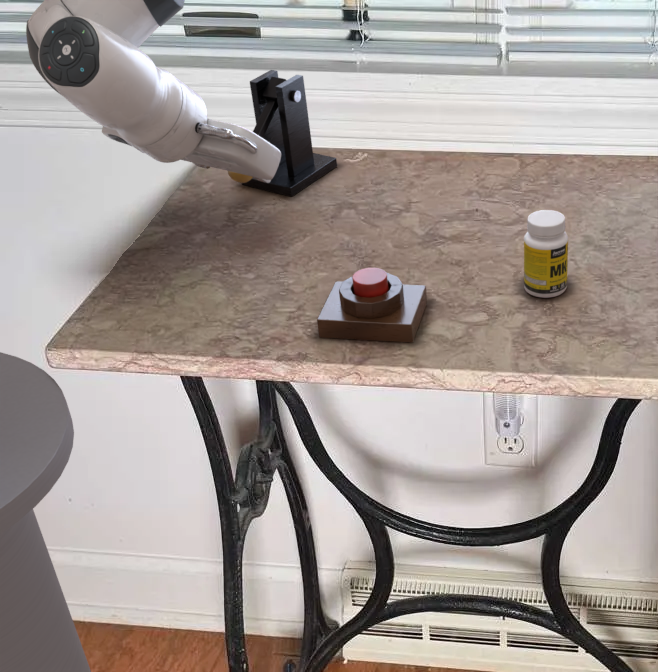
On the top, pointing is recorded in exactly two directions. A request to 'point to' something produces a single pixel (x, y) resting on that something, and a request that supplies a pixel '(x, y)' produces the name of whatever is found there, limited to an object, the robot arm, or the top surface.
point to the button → (370, 282)
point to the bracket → (289, 137)
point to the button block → (373, 312)
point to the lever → (262, 120)
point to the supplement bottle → (545, 254)
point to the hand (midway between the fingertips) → (236, 169)
